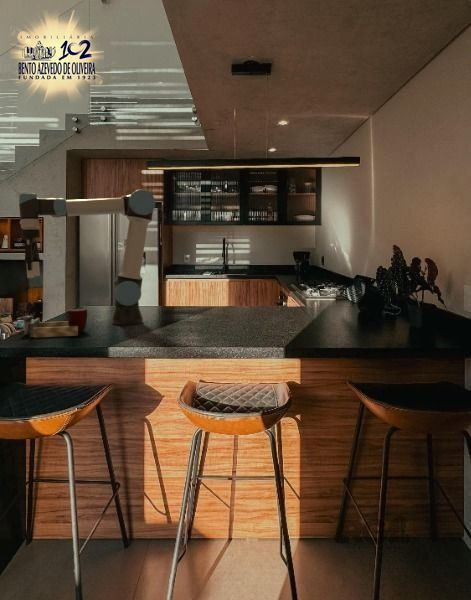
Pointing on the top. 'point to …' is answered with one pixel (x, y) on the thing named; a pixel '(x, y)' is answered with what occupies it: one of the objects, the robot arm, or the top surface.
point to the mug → (77, 318)
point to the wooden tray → (52, 329)
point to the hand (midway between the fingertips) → (33, 276)
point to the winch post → (27, 324)
